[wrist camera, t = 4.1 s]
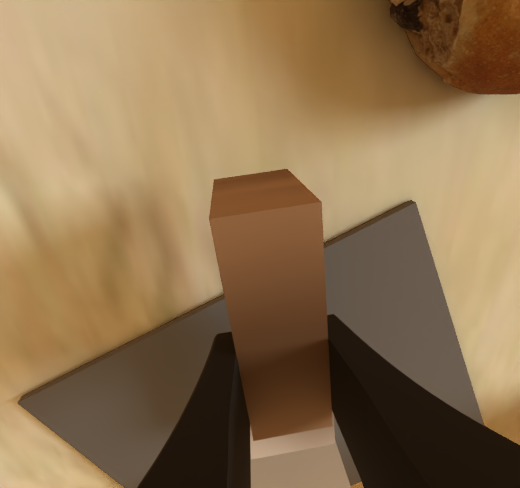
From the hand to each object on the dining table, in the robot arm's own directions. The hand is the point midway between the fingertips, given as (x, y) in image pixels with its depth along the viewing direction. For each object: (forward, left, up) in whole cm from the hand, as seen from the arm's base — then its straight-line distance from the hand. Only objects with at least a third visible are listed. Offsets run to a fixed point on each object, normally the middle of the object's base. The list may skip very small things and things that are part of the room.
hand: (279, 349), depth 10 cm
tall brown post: (-1, +1, -3) cm, 3 cm away
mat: (-10, +3, -6) cm, 12 cm away
